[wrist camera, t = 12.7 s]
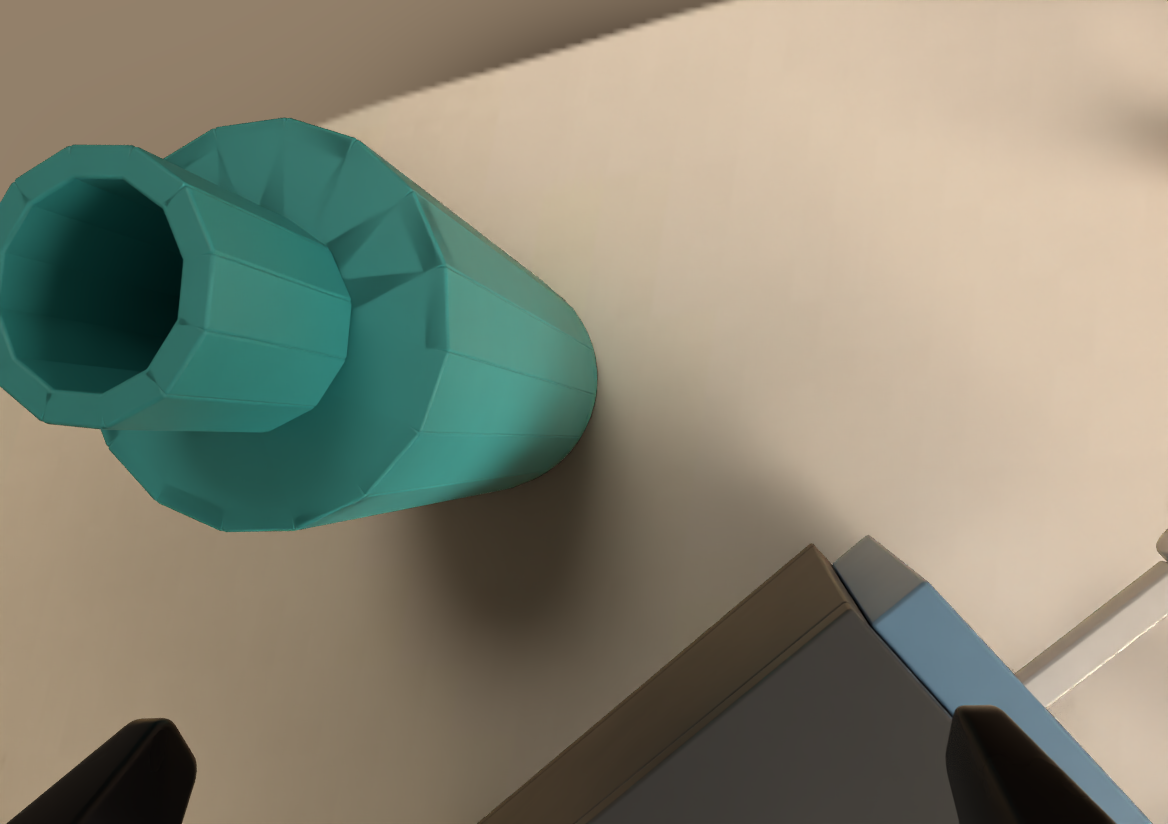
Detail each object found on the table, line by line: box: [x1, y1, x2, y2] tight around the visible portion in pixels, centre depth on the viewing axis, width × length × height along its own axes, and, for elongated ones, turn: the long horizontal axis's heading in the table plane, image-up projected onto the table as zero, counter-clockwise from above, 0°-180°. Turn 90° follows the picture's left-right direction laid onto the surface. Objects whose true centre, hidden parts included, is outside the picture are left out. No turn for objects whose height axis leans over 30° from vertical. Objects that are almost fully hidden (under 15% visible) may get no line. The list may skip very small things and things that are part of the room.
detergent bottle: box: [0, 118, 597, 532], centre depth 16 cm, size 6×6×14 cm
